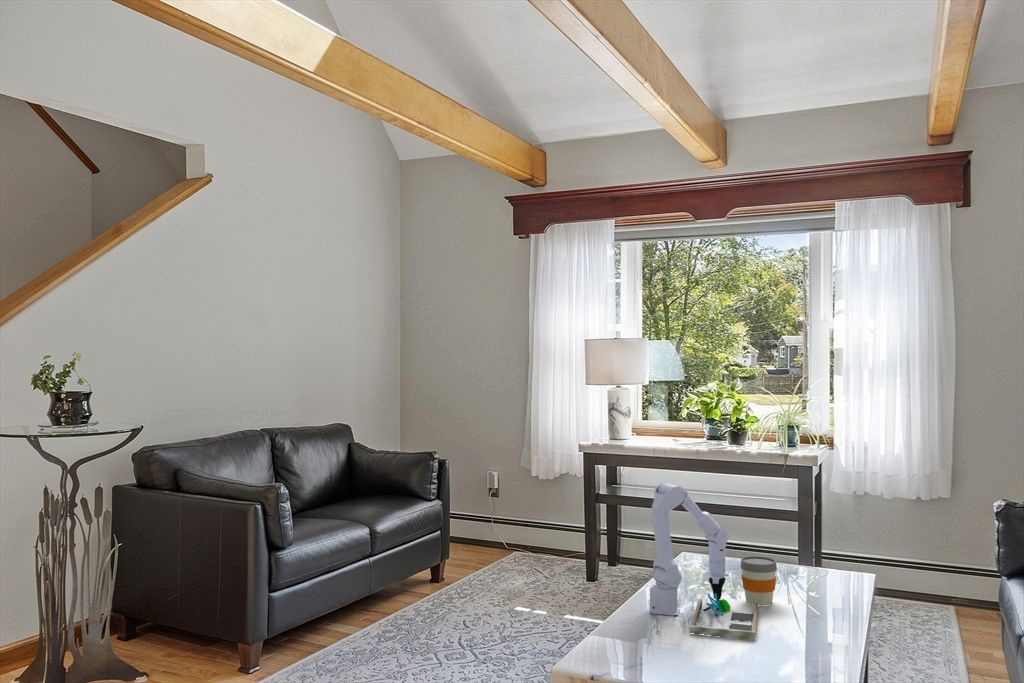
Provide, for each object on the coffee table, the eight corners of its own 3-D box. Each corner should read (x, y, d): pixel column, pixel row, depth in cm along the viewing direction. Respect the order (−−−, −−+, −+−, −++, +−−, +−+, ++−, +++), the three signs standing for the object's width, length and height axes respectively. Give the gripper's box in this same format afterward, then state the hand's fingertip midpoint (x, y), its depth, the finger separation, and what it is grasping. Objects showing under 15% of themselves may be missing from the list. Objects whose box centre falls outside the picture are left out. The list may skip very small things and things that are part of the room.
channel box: (690, 634, 264) (690, 626, 264) (699, 606, 293) (699, 599, 293) (755, 640, 258) (755, 632, 258) (758, 611, 286) (758, 603, 286)
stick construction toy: (716, 612, 278) (708, 590, 283) (700, 621, 282) (692, 599, 287) (736, 615, 286) (728, 594, 290) (721, 623, 289) (713, 602, 294)
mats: (728, 632, 266) (728, 631, 266) (732, 612, 285) (732, 612, 285) (751, 634, 264) (750, 633, 264) (753, 614, 283) (753, 613, 283)
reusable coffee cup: (738, 605, 293) (738, 563, 293) (743, 595, 304) (742, 554, 305) (776, 609, 288) (775, 566, 288) (778, 599, 300) (778, 557, 300)
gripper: (727, 566, 287) (727, 605, 287) (729, 556, 301) (730, 593, 300) (706, 564, 289) (706, 603, 289) (709, 554, 303) (710, 592, 303)
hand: (717, 598), depth 295 cm, fingers closed
